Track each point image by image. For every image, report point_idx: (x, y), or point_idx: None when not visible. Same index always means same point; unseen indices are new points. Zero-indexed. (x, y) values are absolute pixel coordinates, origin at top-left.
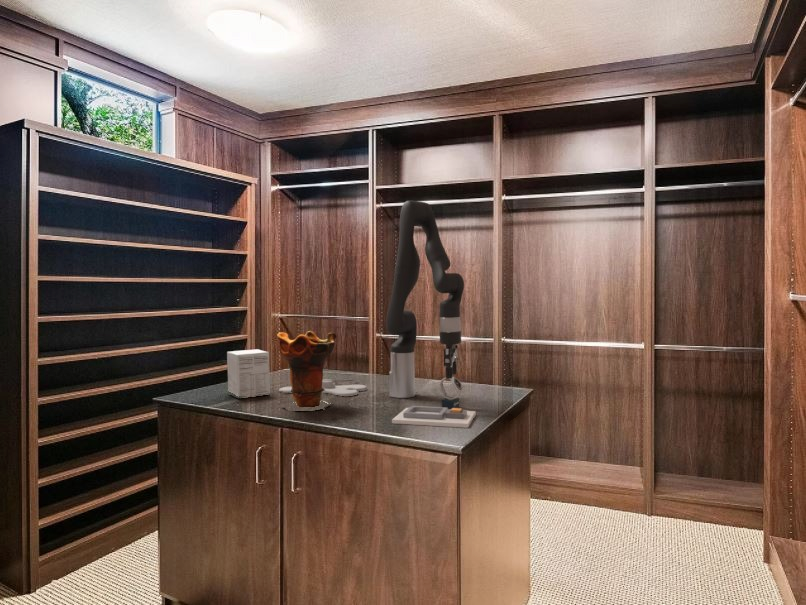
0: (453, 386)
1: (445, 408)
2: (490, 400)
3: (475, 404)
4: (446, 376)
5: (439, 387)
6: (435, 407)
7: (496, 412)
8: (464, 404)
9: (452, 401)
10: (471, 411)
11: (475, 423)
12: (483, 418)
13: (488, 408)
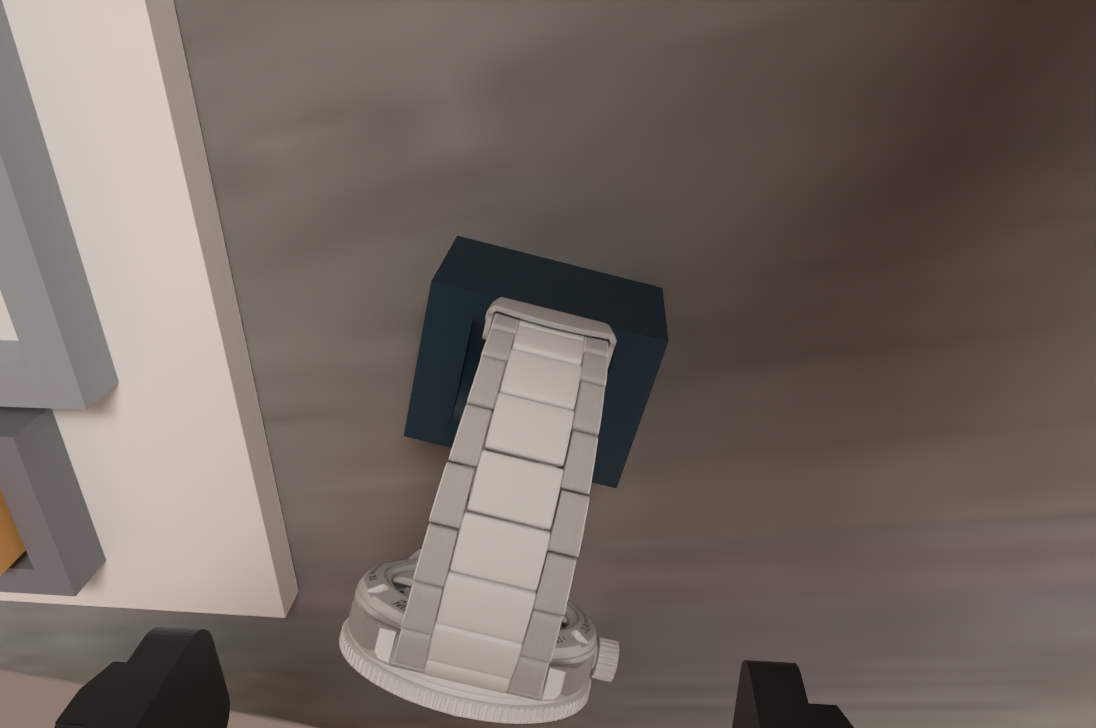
0: (358, 585)
1: (30, 391)
2: (989, 677)
3: (766, 562)
4: (141, 657)
5: (490, 309)
6: (10, 265)
7: (449, 722)
8: (754, 460)
9: (406, 426)
10: (252, 586)
11: (6, 603)
12: None
13: None
